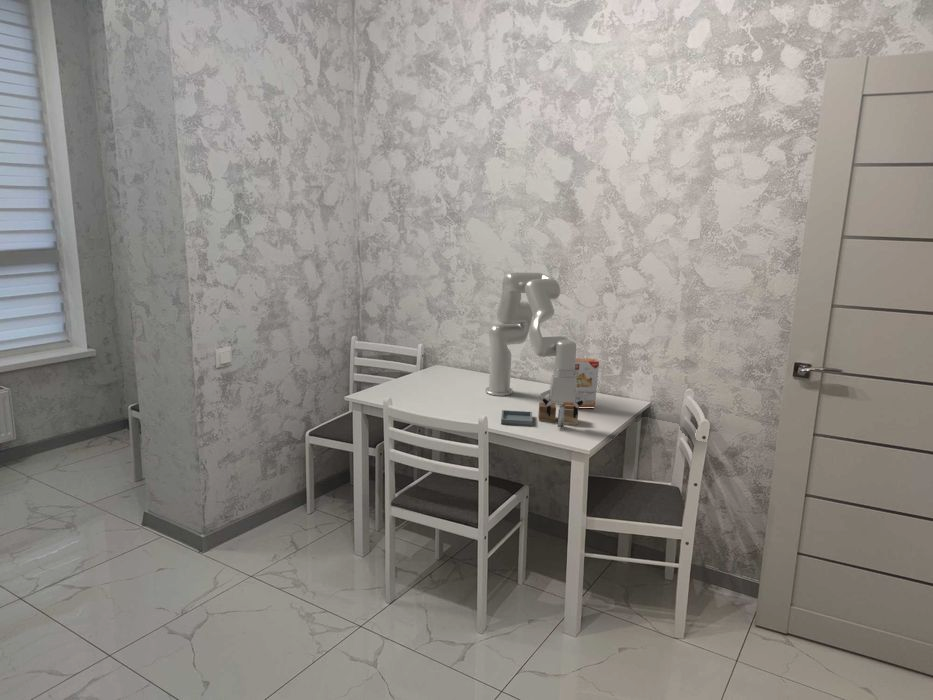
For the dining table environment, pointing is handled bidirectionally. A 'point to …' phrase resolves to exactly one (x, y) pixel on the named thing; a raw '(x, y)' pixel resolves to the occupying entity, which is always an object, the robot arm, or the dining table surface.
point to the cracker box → (586, 381)
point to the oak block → (570, 415)
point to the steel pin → (561, 415)
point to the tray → (516, 418)
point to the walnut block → (543, 412)
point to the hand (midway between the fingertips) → (561, 416)
